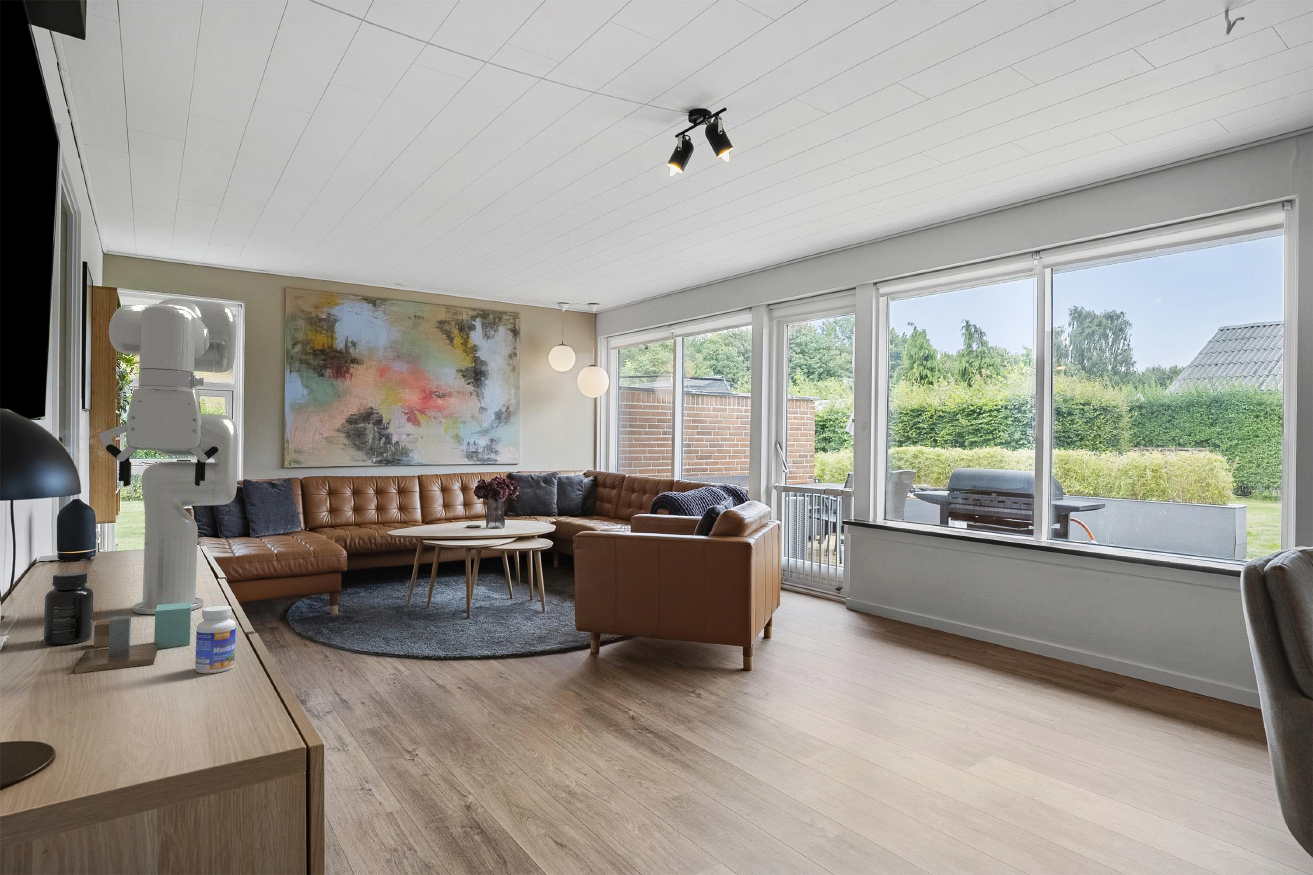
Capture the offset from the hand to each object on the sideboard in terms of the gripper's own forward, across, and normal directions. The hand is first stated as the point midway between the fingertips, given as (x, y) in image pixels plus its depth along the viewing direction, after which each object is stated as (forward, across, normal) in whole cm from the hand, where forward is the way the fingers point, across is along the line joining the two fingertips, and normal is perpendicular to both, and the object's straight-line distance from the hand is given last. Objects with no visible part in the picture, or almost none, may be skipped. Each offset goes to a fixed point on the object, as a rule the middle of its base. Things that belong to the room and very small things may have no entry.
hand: (162, 485), depth 118 cm
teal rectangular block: (+29, -2, -12) cm, 31 cm away
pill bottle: (+29, -8, +8) cm, 31 cm away
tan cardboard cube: (+29, +8, -16) cm, 34 cm away
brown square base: (+29, +5, -4) cm, 30 cm away
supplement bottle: (+29, +14, -22) cm, 39 cm away
